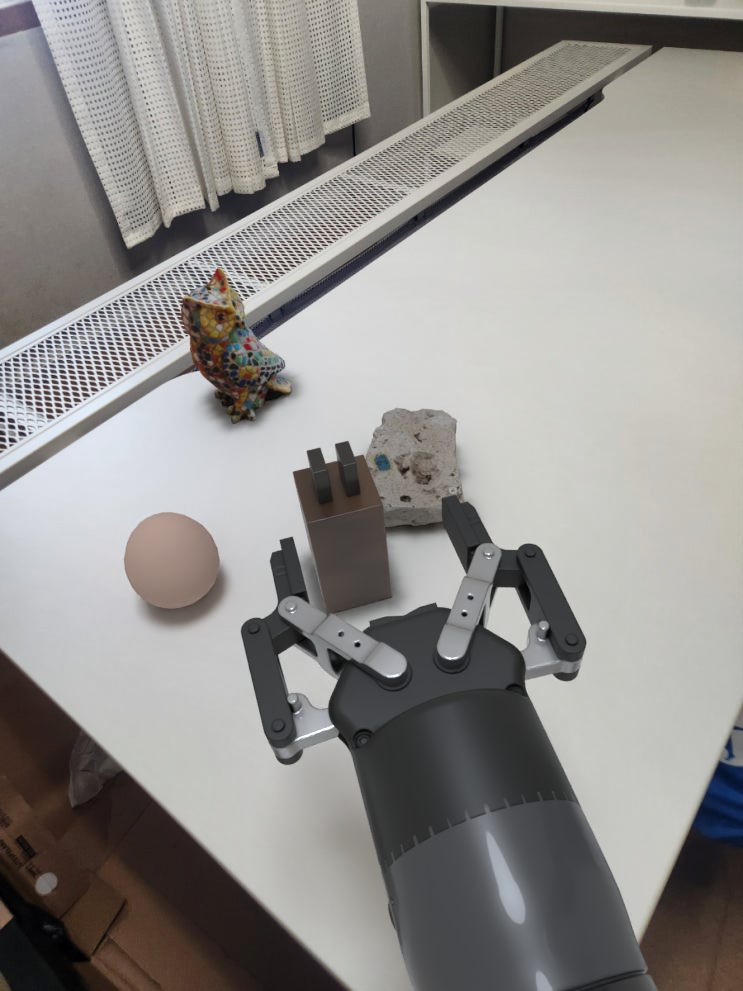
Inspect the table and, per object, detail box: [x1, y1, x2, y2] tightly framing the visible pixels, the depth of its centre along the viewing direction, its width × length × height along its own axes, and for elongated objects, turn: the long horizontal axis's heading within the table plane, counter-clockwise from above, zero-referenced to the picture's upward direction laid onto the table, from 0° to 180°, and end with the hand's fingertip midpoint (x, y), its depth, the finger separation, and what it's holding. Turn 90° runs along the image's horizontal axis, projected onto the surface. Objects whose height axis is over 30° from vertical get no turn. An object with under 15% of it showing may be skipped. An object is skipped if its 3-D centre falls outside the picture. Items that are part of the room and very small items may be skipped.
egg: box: [123, 511, 221, 609], centre depth 53 cm, size 7×7×8 cm
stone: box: [365, 407, 465, 528], centre depth 61 cm, size 13×6×10 cm
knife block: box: [292, 440, 393, 615], centre depth 50 cm, size 5×5×14 cm
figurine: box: [180, 267, 292, 424], centre depth 68 cm, size 9×9×15 cm
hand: (369, 527), depth 35 cm, fingers open, 8 cm apart
